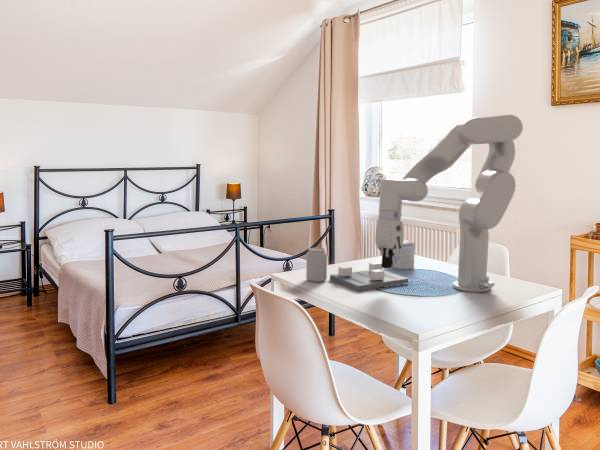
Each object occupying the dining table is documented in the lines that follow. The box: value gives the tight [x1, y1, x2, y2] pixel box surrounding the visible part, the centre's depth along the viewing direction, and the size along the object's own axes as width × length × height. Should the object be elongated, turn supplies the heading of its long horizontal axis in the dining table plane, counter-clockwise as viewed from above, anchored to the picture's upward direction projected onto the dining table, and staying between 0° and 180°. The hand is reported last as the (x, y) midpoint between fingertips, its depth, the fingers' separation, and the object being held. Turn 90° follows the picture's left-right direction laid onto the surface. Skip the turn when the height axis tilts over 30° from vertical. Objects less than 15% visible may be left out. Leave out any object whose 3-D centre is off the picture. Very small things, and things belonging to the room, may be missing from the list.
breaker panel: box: [329, 261, 409, 293], centre depth 191 cm, size 18×22×5 cm
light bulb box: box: [392, 238, 416, 270], centre depth 217 cm, size 11×7×11 cm, turn 17°
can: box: [305, 247, 328, 283], centre depth 192 cm, size 8×8×12 cm
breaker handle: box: [370, 269, 385, 280], centre depth 186 cm, size 3×4×3 cm
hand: (386, 267), depth 180 cm, fingers closed
